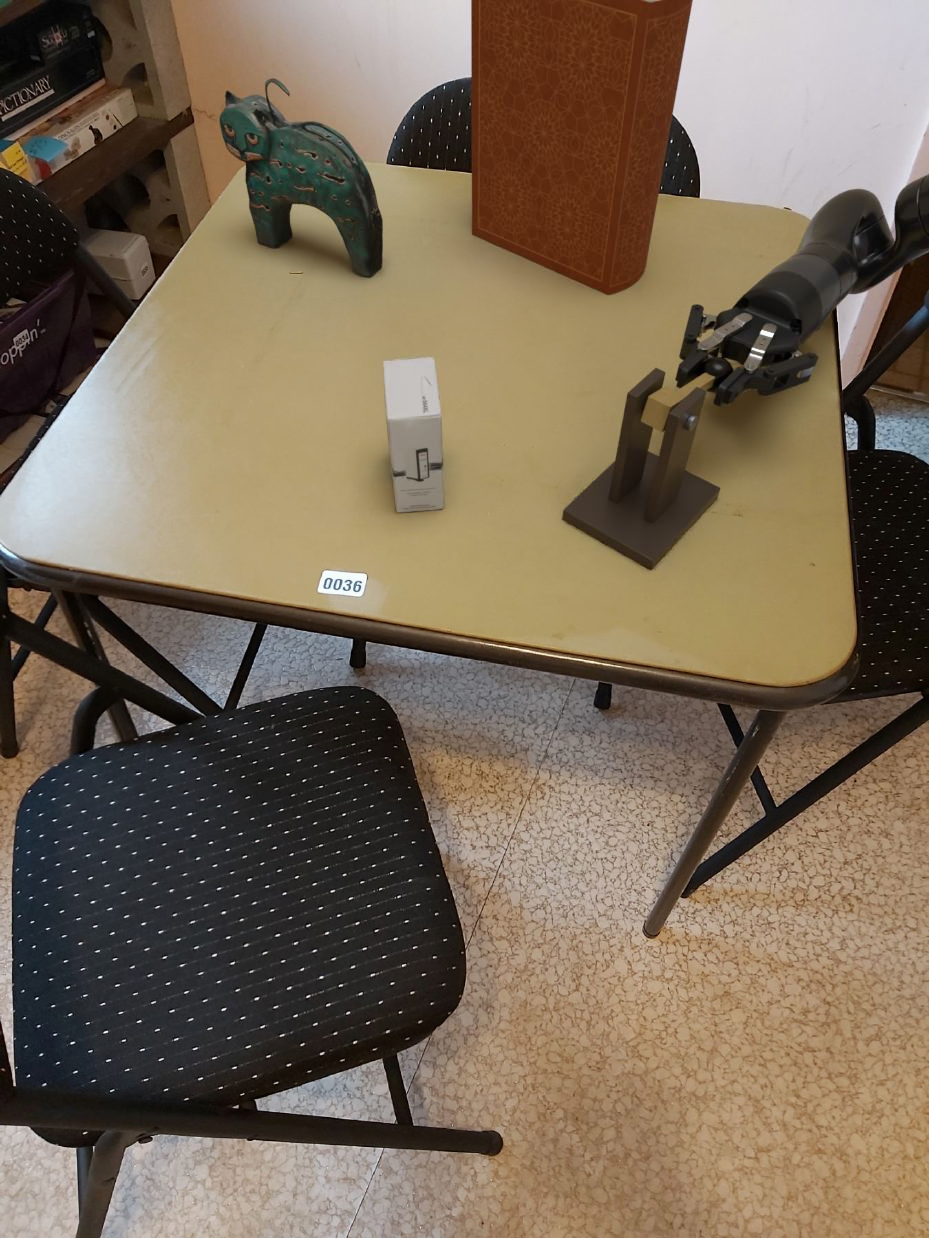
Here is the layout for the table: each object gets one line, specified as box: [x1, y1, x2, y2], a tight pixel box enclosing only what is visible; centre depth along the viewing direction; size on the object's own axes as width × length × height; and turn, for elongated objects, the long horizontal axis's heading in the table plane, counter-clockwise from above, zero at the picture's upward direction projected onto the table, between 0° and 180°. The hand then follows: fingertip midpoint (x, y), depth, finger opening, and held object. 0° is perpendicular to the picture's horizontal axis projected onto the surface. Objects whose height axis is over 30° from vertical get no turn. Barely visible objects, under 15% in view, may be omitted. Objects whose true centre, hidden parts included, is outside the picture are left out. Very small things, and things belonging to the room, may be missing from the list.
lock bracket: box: [561, 367, 721, 571], centre depth 75 cm, size 12×10×14 cm
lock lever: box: [641, 357, 734, 433], centre depth 74 cm, size 13×3×3 cm, turn 140°
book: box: [470, 0, 694, 296], centre depth 96 cm, size 23×8×30 cm, turn 49°
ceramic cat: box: [219, 78, 384, 278], centre depth 100 cm, size 20×6×20 cm, turn 60°
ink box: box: [382, 355, 445, 513], centre depth 78 cm, size 9×5×12 cm, turn 6°
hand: (700, 388), depth 76 cm, fingers closed on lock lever, 3 cm apart
